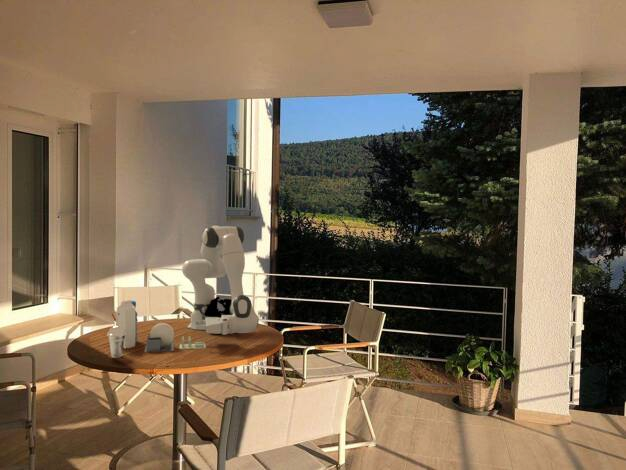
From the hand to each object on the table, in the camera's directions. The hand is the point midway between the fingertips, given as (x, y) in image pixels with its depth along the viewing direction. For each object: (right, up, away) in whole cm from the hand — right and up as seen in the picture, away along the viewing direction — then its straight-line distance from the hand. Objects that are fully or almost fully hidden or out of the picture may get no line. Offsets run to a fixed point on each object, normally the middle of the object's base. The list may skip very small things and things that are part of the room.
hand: (195, 325), depth 251 cm
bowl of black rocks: (+6, -10, +35) cm, 37 cm away
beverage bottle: (-36, -10, +11) cm, 39 cm away
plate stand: (-1, -11, 0) cm, 11 cm away
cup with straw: (-31, -11, -18) cm, 37 cm away
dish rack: (-16, -11, -4) cm, 20 cm away
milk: (-33, -11, 0) cm, 35 cm away
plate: (-15, -10, -4) cm, 19 cm away
